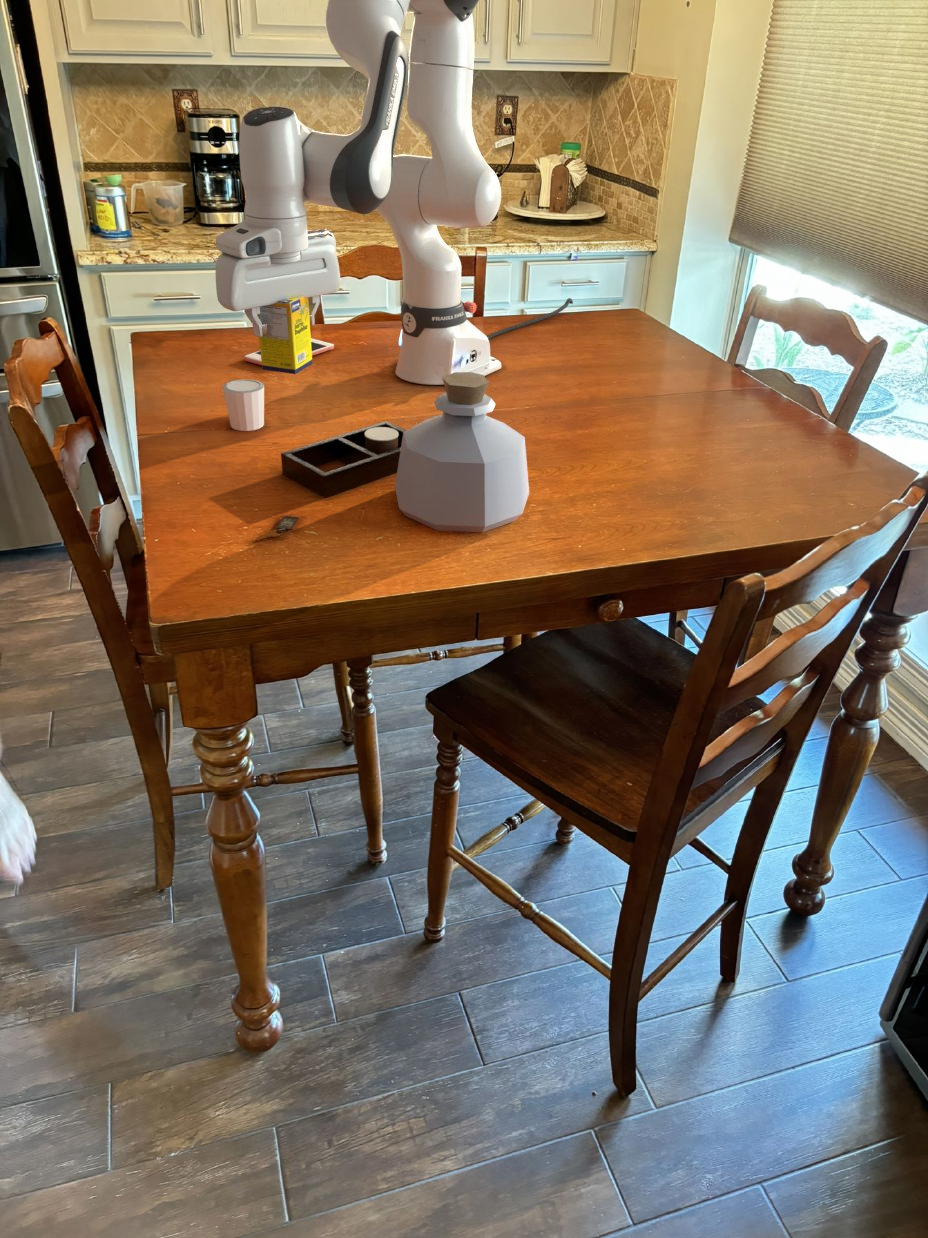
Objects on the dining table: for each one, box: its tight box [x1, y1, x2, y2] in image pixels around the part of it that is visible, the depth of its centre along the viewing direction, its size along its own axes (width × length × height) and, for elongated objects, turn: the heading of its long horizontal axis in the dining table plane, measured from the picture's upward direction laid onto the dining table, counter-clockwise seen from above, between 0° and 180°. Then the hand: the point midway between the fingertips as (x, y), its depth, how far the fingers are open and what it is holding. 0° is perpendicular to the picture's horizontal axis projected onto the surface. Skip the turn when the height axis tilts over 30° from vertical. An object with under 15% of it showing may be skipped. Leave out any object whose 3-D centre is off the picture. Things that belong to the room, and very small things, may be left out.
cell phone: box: [244, 337, 335, 366], centre depth 189 cm, size 9×18×1 cm, turn 145°
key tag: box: [255, 515, 299, 542], centre depth 125 cm, size 8×3×1 cm, turn 159°
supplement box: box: [257, 296, 313, 375], centre depth 141 cm, size 6×6×11 cm
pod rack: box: [280, 420, 407, 499], centre depth 143 cm, size 21×11×4 cm, turn 134°
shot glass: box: [222, 378, 265, 432], centre depth 155 cm, size 7×7×7 cm
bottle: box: [394, 372, 530, 533], centre depth 129 cm, size 20×20×19 cm
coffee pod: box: [365, 427, 399, 455], centre depth 146 cm, size 5×5×4 cm
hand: (284, 330), depth 140 cm, fingers closed on supplement box, 7 cm apart
